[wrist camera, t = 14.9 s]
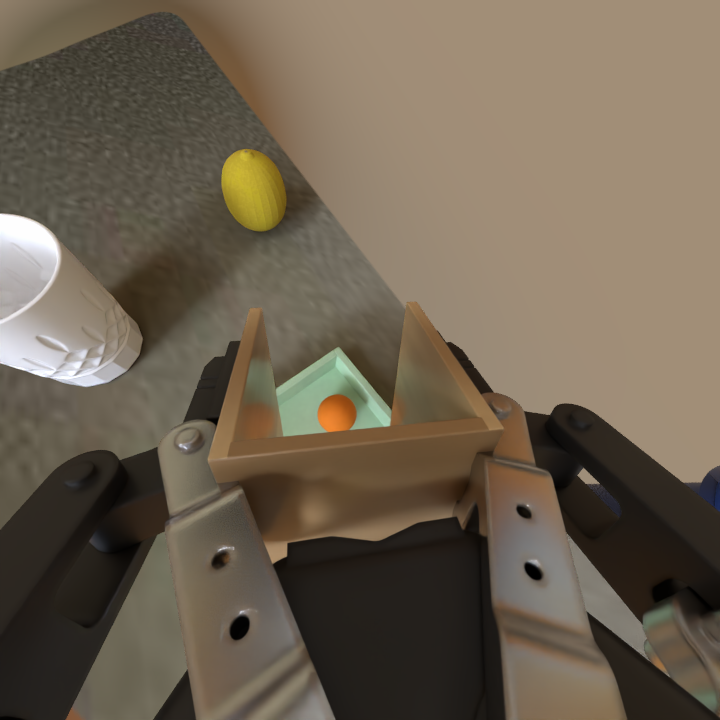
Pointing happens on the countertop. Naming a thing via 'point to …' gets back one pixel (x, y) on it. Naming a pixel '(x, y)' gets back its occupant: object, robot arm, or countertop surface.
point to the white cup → (58, 311)
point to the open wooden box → (353, 447)
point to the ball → (337, 413)
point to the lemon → (253, 190)
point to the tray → (322, 381)
